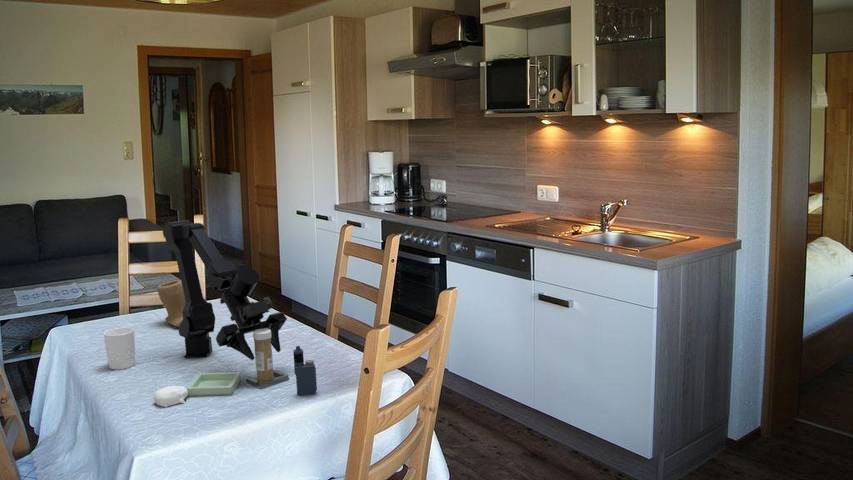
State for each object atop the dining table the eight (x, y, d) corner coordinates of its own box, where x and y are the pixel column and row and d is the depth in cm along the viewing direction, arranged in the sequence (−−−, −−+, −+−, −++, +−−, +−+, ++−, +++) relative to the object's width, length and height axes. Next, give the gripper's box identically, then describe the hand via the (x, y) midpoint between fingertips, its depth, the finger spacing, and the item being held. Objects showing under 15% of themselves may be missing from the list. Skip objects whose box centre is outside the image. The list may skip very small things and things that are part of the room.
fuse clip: (245, 382, 191) (245, 378, 190) (273, 373, 197) (273, 369, 197) (260, 389, 186) (260, 384, 186) (288, 379, 192) (288, 375, 192)
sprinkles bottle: (276, 381, 191) (273, 331, 189) (260, 384, 189) (256, 334, 187) (270, 376, 195) (267, 327, 193) (253, 379, 193) (250, 330, 190)
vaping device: (296, 391, 183) (293, 345, 181) (317, 390, 184) (314, 344, 182) (295, 395, 181) (292, 348, 179) (316, 394, 181) (314, 347, 179)
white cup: (143, 362, 209) (140, 328, 208) (123, 371, 202) (120, 336, 200) (120, 360, 212) (117, 326, 210) (100, 369, 205) (97, 334, 203)
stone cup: (156, 323, 250) (152, 279, 248) (191, 316, 257) (188, 274, 254) (169, 333, 238) (165, 287, 235) (206, 326, 245) (202, 282, 242)
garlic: (182, 394, 185) (181, 379, 184) (193, 401, 180) (192, 386, 179) (150, 402, 180) (149, 388, 179) (160, 410, 174) (159, 395, 174)
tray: (186, 396, 182) (186, 388, 182) (199, 380, 193) (198, 373, 193) (231, 394, 183) (231, 387, 182) (241, 379, 193) (241, 372, 193)
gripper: (218, 295, 184) (246, 347, 178) (280, 282, 197) (308, 329, 192) (204, 321, 191) (230, 371, 185) (265, 306, 204) (291, 352, 198)
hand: (266, 355), depth 190 cm, fingers open, 8 cm apart
